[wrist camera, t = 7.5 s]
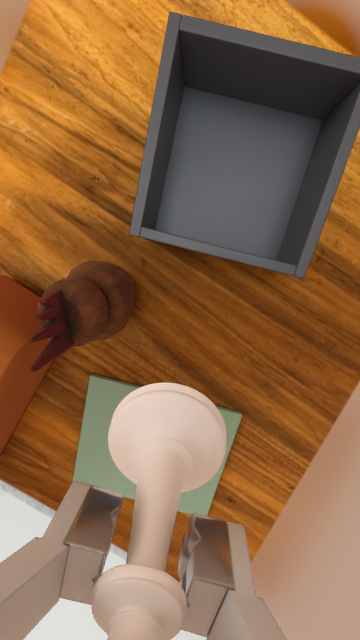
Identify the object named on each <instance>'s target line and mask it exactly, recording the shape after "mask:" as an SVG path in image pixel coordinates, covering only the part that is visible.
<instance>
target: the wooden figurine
mask: <svg viewBox="0 0 360 640" xmlns="http://www.w3.org/2000/svg"><path fill="white" fill-rule="evenodd" d="M135 297H136V288H135V283H134V281H133V279H132V278H131V276H130V274H129V273H128V272H126V271H125V270H123V269H122V268H120V267H118V266H116V265H112V264H109V263H106V262H85V263H82V264H80V265H79V266H77V267H76V268H74V269H73V270H71V272H70V274H69V276H68V277H67V279H62V280H60V281H58V282H56V283H54V284H53V285H51V286H50V287H49V288H48V289H47V290H46V291H45V293H44V294H43V295H42V297H41V298H40V300H39V303H38V306H37V315H36V320H38V321H39V324H40V327H41V329H39V330H38V331H37V332H36V333H34V334H33V335H32V336H31V337H30V338H29V342H37V341H40V340H44V339H47V338H49V339H50V342H49V343H48V344H47V346H46V347H45V349H44V350H43V351H42V353H41V354H40V355H39V357H38V358H37V359H36V361H35V362H34V364H33V365H32V366H31V371H32V372H36V371H38V370H39V369H40V368H42V367H43V366H45V365H46V364H47V363H49V362H50V361H52V360H53V359H54V358H56V357H57V356H59V355H60V354H62V353H63V352H64V351H66V350H67V349H68V348H70V347H75V346H81V345H84V344H86V343H88V342H89V341H95V340H103V339H107V338H109V337H110V336H112V335H114V334H116V333H117V332H119V331H121V330H122V329H123V327H124V326H125V324H126V323H127V321H128V319H129V317H130V315H131V313H132V310H133V307H134V303H135Z"/></svg>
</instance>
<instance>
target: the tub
mask: <svg viewBox="0 0 360 640" xmlns="http://www.w3.org/2000/svg"><path fill="white" fill-rule="evenodd" d="M359 128H360V57H356V56H351V55H347V54H343V53H339V52H335V51H331V50H327V49H322V48H318V47H314V46H310V45H306V44H302V43H298V42H293V41H289V40H285V39H281V38H277V37H273V36H269V35H264V34H260V33H256V32H252V31H248V30H244V29H240V28H235V27H231V26H227V25H223V24H219V23H215V22H211V21H206V20H202V19H198V18H194V17H190V16H186V15H181V14H178V13H174V12H169V17H168V22H167V28H166V34H165V39H164V45H163V50H162V56H161V61H160V67H159V72H158V78H157V83H156V89H155V94H154V100H153V105H152V111H151V116H150V122H149V127H148V133H147V138H146V144H145V149H144V155H143V160H142V166H141V172H140V177H139V183H138V188H137V194H136V199H135V205H134V210H133V216H132V221H131V227H130V232H129V235H132V236H136V237H140V238H144V239H148V240H152V241H156V242H160V243H164V244H168V245H172V246H176V247H180V248H184V249H188V250H192V251H196V252H200V253H204V254H208V255H212V256H216V257H220V258H224V259H228V260H232V261H235V262H239V263H243V264H247V265H251V266H255V267H259V268H263V269H267V270H271V271H275V272H279V273H283V274H287V275H291V276H295V277H299V278H304V277H305V274H306V272H307V269H308V266H309V263H310V261H311V258H312V255H313V253H314V250H315V247H316V244H317V242H318V239H319V236H320V234H321V231H322V228H323V225H324V223H325V220H326V217H327V215H328V212H329V209H330V206H331V204H332V201H333V198H334V196H335V193H336V190H337V187H338V185H339V182H340V179H341V177H342V174H343V171H344V168H345V166H346V163H347V160H348V158H349V155H350V152H351V149H352V147H353V144H354V141H355V138H356V136H357V133H358V130H359Z"/></svg>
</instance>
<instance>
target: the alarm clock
mask: <svg viewBox="0 0 360 640" xmlns="http://www.w3.org/2000/svg"><path fill="white" fill-rule="evenodd" d="M39 300H40V297H39V296H37V295H36V294H34V293H33V292H31V291H29V290H28V289H26V288H25V287H23V286H21V285H20V284H18V283H17V282H15V281H14V280H12V279H10V278H9V277H7V276H1V275H0V454H1V453H2V451H3V449H4V447H5V446H6V444H7V442H8V440H9V438H10V437H11V435H12V433H13V431H14V429H15V428H16V426H17V424H18V422H19V420H20V419H21V417H22V415H23V413H24V412H25V410H26V408H27V406H28V404H29V403H30V401H31V399H32V397H33V395H34V394H35V392H36V390H37V388H38V386H39V385H40V383H41V381H42V379H43V377H44V376H45V374H46V372H47V370H48V368H49V367H50V365H51V363H52V361H53V360H52V361H50V362H49V363H47V364H46V365H45V366H43V367H42V368H40V369H39V370H38V371H36V372H32V371H31V366H32V365H33V364H34V362H35V361H36V359H37V358H38V357H39V355H40V354H41V353H42V351H43V350H44V349H45V347H46V346H47V344H48V343H49V342H50V339H49V338H47V339H44V340H40V341H37V342H29V338H30V337H31V336H32V335H33V334H34V333H36V332H37V331H38V330H39V329H41V327H40V324H39V321H38V320H36V315H37V306H38V303H39Z"/></svg>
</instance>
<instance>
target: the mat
mask: <svg viewBox="0 0 360 640" xmlns="http://www.w3.org/2000/svg"><path fill="white" fill-rule="evenodd" d="M140 387H143V386H139V385H135V384H131V383H127V382H123V381H120V380H116V379H112V378H108V377H104V376H100V375H96V374H93V373H92V374H91V375H90V379H89V385H88V391H87V397H86V403H85V409H84V415H83V421H82V427H81V433H80V439H79V445H78V451H77V457H76V463H75V469H74V475H73V481H72V483H73V482H74V481H75V480H76V481H80V482H83V483H87V484H91V485H94V486H98V487H101V488H104V489H107V490H111V491H114V492H117V493H121V494H124V497H127V498H130V499H134V500H135V496H136V488H137V485H136V484H135V483H133V482H132V481H130V480H129V479H128V478H127V477H126V476H124V475H123V474H122V472H121V471H120V470H119V469H118V468H117V466H116V465H115V463H114V461H113V459H112V457H111V454H110V451H109V446H108V432H109V428H110V424H111V420H112V417H113V414H114V412H115V410H116V408H117V406H118V405H119V403H120V402H121V401H122V400H123V399H124V398H125V397H126V396H127V395H128V394H130V393H131V392H133V391H134V390H136V389H138V388H140ZM215 406H216V405H215ZM216 407H217V409H218V410H219V412H220V413H221V415H222V417H223V420H224V423H225V427H226V434H227V438H226V452H225V457H224V460H223V463H222V465H221V467H220V468H219V470H218V472H217V473H216V474H215V475H214V476H213V477H212V478H211V479H210V480H209V481H208V482H207V483H205V484H204V485H202V486H200V487H198V488H196V489H194V490H191V491H188V492H183V493H181V494H180V499H179V503H178V508H177V511H180V512H183V513H187V514H192V513H193V512H194V513H198V514H202V515H206V516H207V514H208V511H209V508H210V505H211V502H212V500H213V497H214V494H215V491H216V488H217V485H218V483H219V480H220V477H221V474H222V471H223V469H224V466H225V463H226V460H227V457H228V454H229V452H230V449H231V446H232V443H233V440H234V437H235V435H236V432H237V429H238V426H239V423H240V421H241V418H242V412H239V411H235V410H232V409H228V408H224V407H220V406H216Z"/></svg>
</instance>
